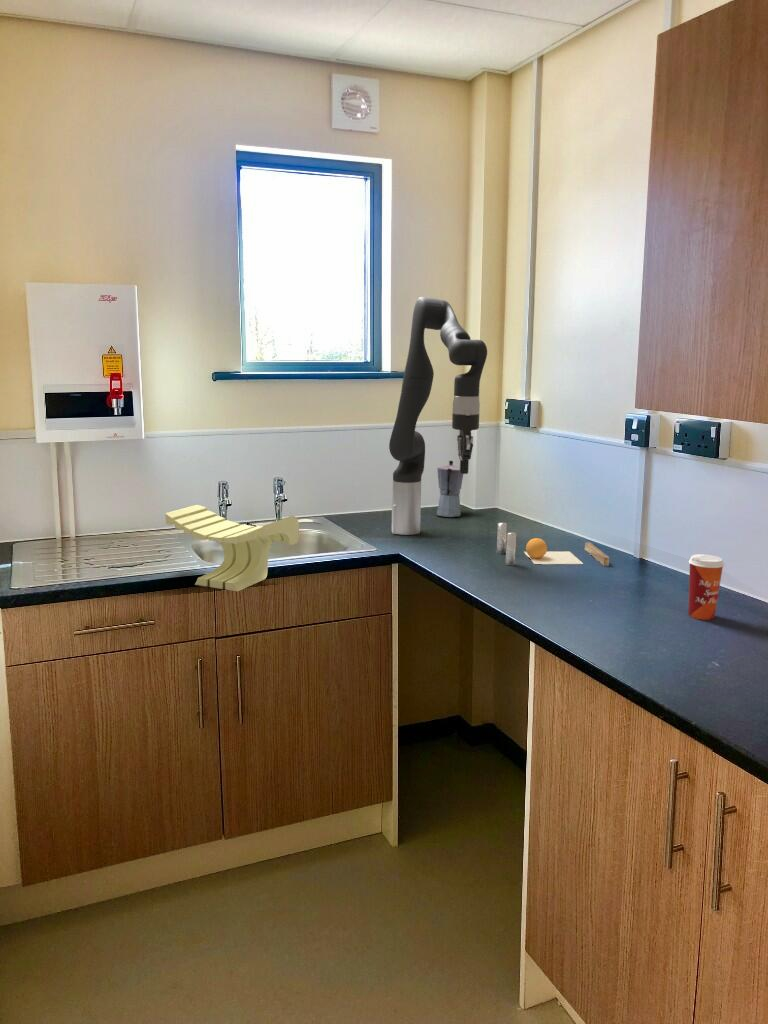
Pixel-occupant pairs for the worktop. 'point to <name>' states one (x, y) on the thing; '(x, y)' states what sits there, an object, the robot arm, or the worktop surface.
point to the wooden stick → (597, 554)
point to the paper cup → (704, 585)
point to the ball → (536, 548)
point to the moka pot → (449, 490)
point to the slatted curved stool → (234, 544)
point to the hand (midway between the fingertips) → (463, 473)
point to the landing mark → (556, 558)
